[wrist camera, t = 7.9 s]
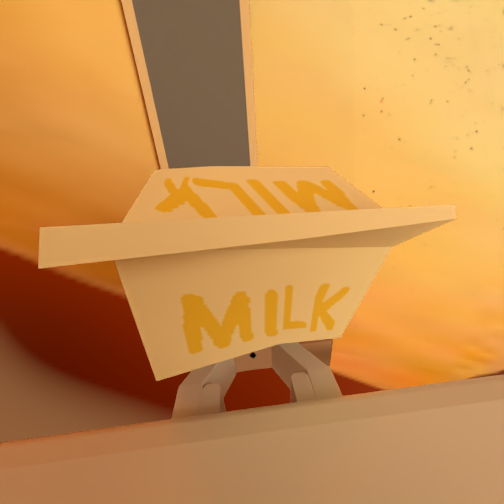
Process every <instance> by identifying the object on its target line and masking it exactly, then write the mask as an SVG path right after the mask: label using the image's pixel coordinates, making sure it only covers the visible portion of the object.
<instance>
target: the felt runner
mask: <svg viewBox="0 0 504 504" xmlns="http://www.w3.org/2000/svg"><path fill="white" fill-rule="evenodd" d="M121 2H122V6H123V10H124V14H125V19H126V23H127V27H128V31H129V36H130V40H131V44H132V48H133V53H134V57H135V61H136V65H137V70H138V74H139V78H140V83H141V87H142V91H143V95H144V100H145V104H146V108H147V112H148V117H149V121H150V125H151V129H152V134H153V138H154V142H155V146H156V151H157V155H158V159H159V163H160V168H161V169H174V168H191V167H207V166H258V157H257V138H256V119H255V100H254V81H253V62H252V43H251V24H250V4H249V0H121Z"/></svg>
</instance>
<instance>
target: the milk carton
mask: <svg viewBox="0 0 504 504" xmlns="http://www.w3.org/2000/svg"><path fill="white" fill-rule="evenodd" d="M455 219H456V210H455V204H451V205H433V206H415V207H397V208H382V207H381V206H380V205H378V204H377V203H376V202H374V201H373V200H372V199H370V198H369V197H368V196H367V195H365V194H364V193H363V192H361V191H360V190H359V189H357V188H356V187H355V186H353V185H352V184H351V183H349V182H348V181H347V180H345V179H344V178H343V177H341V176H340V175H339V174H338V173H336V172H335V171H334V170H332V169H331V168H330V167H328V166H207V167H191V168H174V169H157V170H154V171H153V173H152V175H151V176H150V178H149V179H148V181H147V183H146V184H145V186H144V188H143V189H142V191H141V192H140V194H139V196H138V197H137V199H136V200H135V202H134V204H133V205H132V207H131V209H130V210H129V212H128V213H127V215H126V217H125V218H124V220H123V221H122V223H109V224H91V225H73V226H55V227H40V231H39V263H38V268H48V267H57V266H66V265H75V264H83V263H92V262H101V261H110V260H114V262H115V265H116V268H117V271H118V274H119V276H120V279H121V282H122V285H123V288H124V291H125V293H126V296H127V299H128V302H129V305H130V308H131V310H132V313H133V316H134V319H135V322H136V324H137V327H138V330H139V333H140V336H141V339H142V341H143V344H144V347H145V350H146V353H147V356H148V358H149V361H150V364H151V367H152V369H153V372H154V375H155V378H156V381H158V380H162V379H165V378H168V377H171V376H175V375H178V374H182V373H185V372H188V371H192V370H195V369H198V368H202V367H205V366H208V365H211V364H215V363H218V362H221V361H225V360H228V359H231V358H235V357H238V356H241V355H245V354H248V353H251V352H255V351H258V350H261V349H265V348H268V347H271V346H275V345H278V344H284V343H294V342H304V341H314V340H324V339H334V338H341V336H342V334H343V332H344V331H345V329H346V327H347V325H348V324H349V322H350V320H351V318H352V317H353V315H354V313H355V311H356V309H357V308H358V306H359V304H360V302H361V301H362V299H363V297H364V295H365V294H366V292H367V290H368V288H369V287H370V285H371V283H372V281H373V280H374V278H375V276H376V274H377V273H378V271H379V269H380V267H381V266H382V264H383V262H384V260H385V259H386V257H387V255H388V253H389V252H390V250H391V248H392V247H393V246H395V245H397V244H400V243H402V242H404V241H407V240H409V239H411V238H413V237H416V236H418V235H420V234H423V233H425V232H427V231H429V230H432V229H434V228H436V227H439V226H441V225H443V224H445V223H448V222H450V221H452V220H455Z"/></svg>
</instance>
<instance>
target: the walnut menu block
mask: <svg viewBox="0 0 504 504" xmlns="http://www.w3.org/2000/svg"><path fill="white" fill-rule="evenodd" d="M298 343H299V344H300V345H302V346H303V347H304V348H305V349H307V350H308V351H309V352H311V353H312V354H313V355H314V356H316V357H317V358H318V359H319V360H321V361H322V362H323V363H324V364H326V365H327V366H330V359H331V351H332V344H333V340H332V339H324V340H314V341H304V342H298Z"/></svg>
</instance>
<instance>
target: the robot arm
mask: <svg viewBox="0 0 504 504" xmlns="http://www.w3.org/2000/svg"><path fill="white" fill-rule="evenodd" d="M263 368H273V369H274V370H275V372H276V373H277V374H278V375H279V377H280V378H281V379H282V380H283V381H284V382H285V384H286V385H287V386H288V387H289V388H290V390H291V403H288V404H281V405H274V406H266V407H259V408H251V409H244V410H236V411H229V412H226V411H225V406H224V401H223V398H224V396H225V394H226V392H227V390H228V388H229V386H230V385H231V383H232V381H233V379H234V377H235V375H236V372H240V371H247V370H253V369H263ZM0 504H504V375H497V376H490V377H482V378H475V379H467V380H460V381H452V382H445V383H437V384H430V385H422V386H415V387H407V388H400V389H392V390H385V391H377V392H370V393H362V394H355V395H348V396H342V394H341V392H340V389H339V387H338V385H337V382H336V380H335V378H334V376H333V373H332V371H331V369H330V368H329V367H328V366H327V365H326V364H324V363H323V362H322V361H321V360H319V359H318V358H317V357H316V356H314V355H313V354H312V353H311V352H309V351H308V350H307V349H305V348H304V347H303V346H302V345H300V344H299V343H298V342H294V343H284V344H278V345H275V346H271V347H268V348H265V349H261V350H258V351H255V352H251V353H248V354H245V355H241V356H238V357H235V358H231V359H228V360H225V361H221V362H218V363H215V364H211V365H208V366H205V367H202V368H198V369H195V370H192V371H191V373H190V374H189V375H188V376H187V377H186V379H185V380H184V381H183V382H182V384H181V385H180V386H179V388H178V392H177V397H176V402H175V406H174V410H173V415H172V419H169V420H161V421H154V422H146V423H139V424H132V425H125V426H117V427H109V428H102V429H95V430H87V431H79V432H72V433H65V434H57V435H50V436H42V437H35V438H27V439H20V440H13V441H5V442H0Z"/></svg>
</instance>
